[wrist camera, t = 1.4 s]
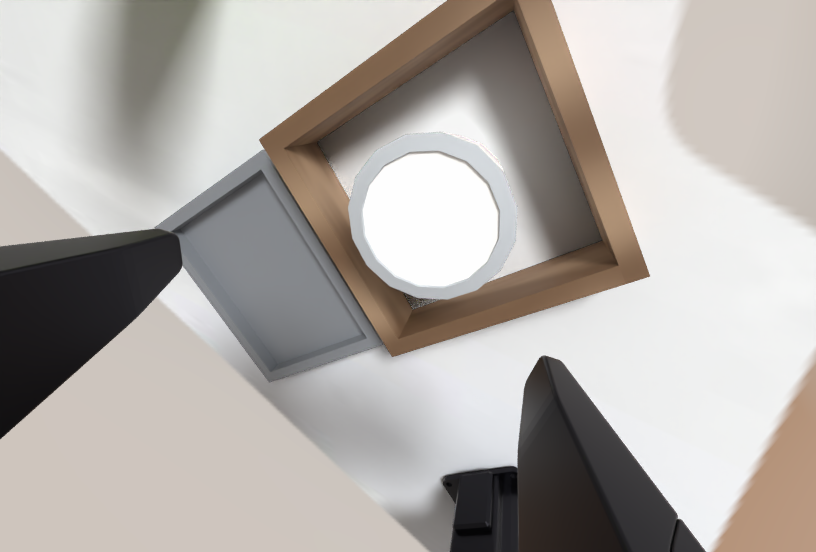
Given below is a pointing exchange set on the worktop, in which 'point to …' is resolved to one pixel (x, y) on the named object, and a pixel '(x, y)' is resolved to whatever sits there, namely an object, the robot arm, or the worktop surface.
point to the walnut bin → (507, 296)
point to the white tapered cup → (433, 215)
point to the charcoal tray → (269, 273)
